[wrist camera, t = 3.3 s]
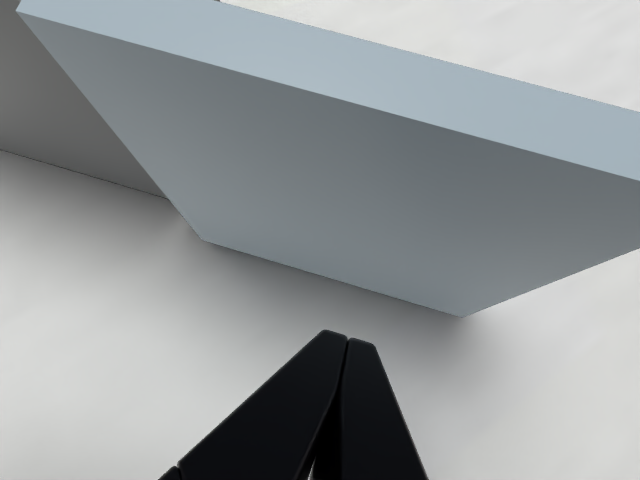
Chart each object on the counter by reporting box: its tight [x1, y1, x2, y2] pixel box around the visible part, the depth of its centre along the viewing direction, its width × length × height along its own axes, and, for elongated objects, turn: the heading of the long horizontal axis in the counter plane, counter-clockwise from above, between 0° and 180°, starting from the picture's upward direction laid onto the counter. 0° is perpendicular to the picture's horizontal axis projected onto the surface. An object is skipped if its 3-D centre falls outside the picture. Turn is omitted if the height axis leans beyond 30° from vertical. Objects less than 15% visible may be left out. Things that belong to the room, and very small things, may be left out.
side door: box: [16, 0, 640, 318], centre depth 10 cm, size 1×9×9 cm, turn 73°
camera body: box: [0, 0, 220, 199], centre depth 11 cm, size 6×17×10 cm, turn 73°
